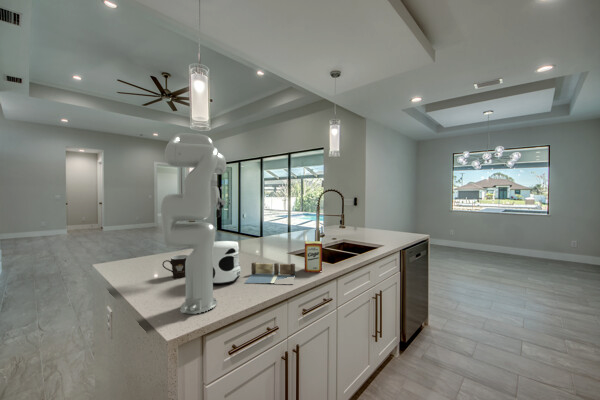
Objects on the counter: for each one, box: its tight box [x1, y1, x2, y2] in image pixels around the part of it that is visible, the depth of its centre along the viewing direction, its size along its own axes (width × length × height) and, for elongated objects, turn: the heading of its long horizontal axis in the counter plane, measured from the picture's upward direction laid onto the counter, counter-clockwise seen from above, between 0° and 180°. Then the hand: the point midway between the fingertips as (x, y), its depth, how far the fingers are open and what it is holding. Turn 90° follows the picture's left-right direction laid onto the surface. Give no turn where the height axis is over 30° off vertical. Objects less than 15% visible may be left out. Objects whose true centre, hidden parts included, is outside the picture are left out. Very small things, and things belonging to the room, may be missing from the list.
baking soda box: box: [304, 240, 323, 273], centre depth 138 cm, size 10×6×16 cm
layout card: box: [244, 270, 297, 284], centre depth 125 cm, size 18×23×1 cm
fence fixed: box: [273, 262, 296, 276], centre depth 129 cm, size 11×2×6 cm, turn 86°
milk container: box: [213, 240, 242, 285], centre depth 120 cm, size 17×17×18 cm
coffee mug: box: [162, 254, 189, 280], centre depth 126 cm, size 12×9×10 cm
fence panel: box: [250, 262, 274, 274], centre depth 129 cm, size 11×2×5 cm, turn 86°
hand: (209, 217), depth 131 cm, fingers open, 9 cm apart
